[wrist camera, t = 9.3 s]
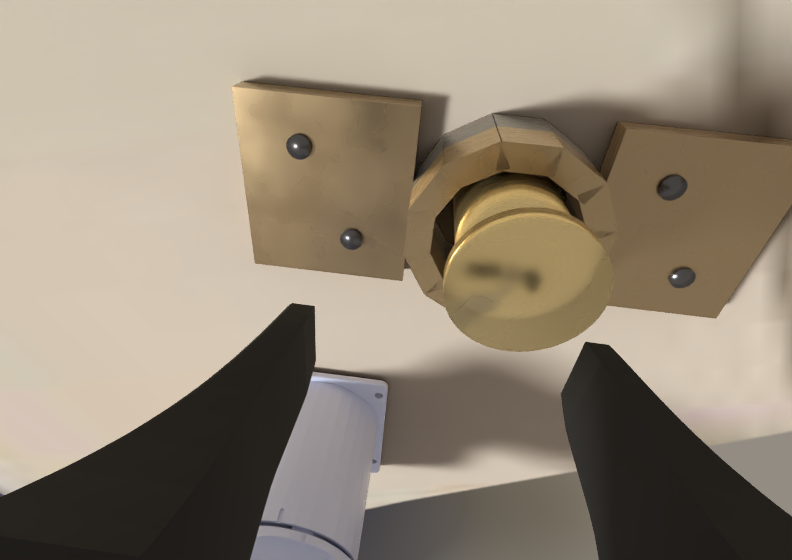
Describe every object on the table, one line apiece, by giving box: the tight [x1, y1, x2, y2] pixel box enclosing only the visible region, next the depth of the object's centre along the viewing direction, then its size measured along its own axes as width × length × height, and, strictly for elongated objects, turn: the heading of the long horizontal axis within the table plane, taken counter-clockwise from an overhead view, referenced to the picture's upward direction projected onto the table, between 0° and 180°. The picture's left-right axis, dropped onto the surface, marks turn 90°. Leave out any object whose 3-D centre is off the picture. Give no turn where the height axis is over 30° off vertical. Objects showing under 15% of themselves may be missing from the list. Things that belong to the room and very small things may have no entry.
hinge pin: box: [443, 171, 614, 352], centre depth 16 cm, size 5×5×7 cm
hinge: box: [232, 82, 792, 318], centre depth 18 cm, size 8×22×4 cm, turn 86°
